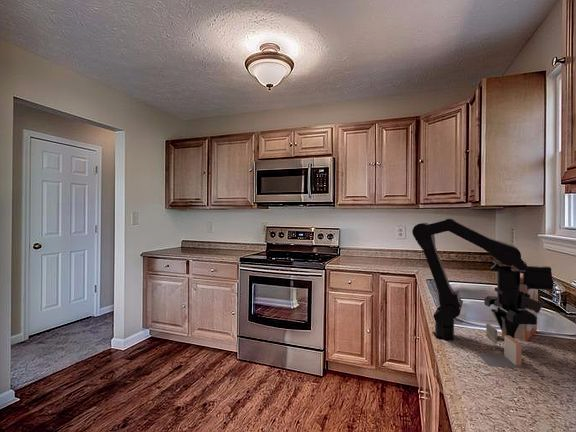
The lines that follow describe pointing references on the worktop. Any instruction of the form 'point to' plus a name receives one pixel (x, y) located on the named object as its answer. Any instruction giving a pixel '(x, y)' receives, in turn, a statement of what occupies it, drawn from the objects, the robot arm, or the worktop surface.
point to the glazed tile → (512, 350)
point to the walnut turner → (495, 333)
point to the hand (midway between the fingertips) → (508, 337)
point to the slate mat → (497, 360)
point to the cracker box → (527, 329)
